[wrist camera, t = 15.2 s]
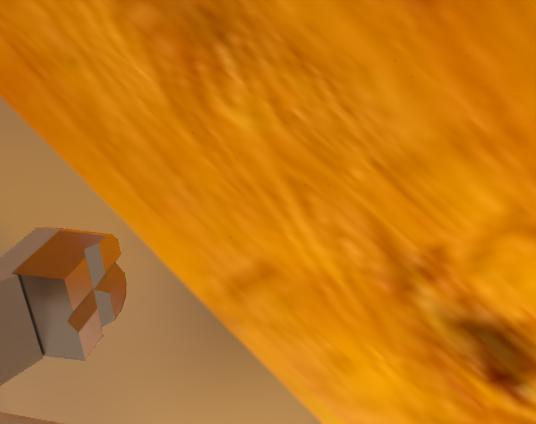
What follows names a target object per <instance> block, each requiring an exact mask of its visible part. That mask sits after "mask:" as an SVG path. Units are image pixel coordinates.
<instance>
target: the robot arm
mask: <svg viewBox="0 0 536 424" xmlns="http://www.w3.org/2000/svg"><path fill="white" fill-rule="evenodd" d="M120 255H121V252H120V247H119V243H118V239H117V238H115V237H114V236H113V235H112V234H104V233H96V232H87V231H80V230H72V229H63V228H53V227H38V228H35V229H34V230H33V231H32V232H31V233H29V234H28V235H27V236H26V237H25V238H23V239H22V240H21V241H20V242H19V243H17V244H16V245H15V246H14V247H13V248H11V249H10V250H9V251H8V252H7V253H5V254H4V255H3V256H2V257H0V385H2V384H4V383H5V382H7V381H8V380H10V379H11V378H13V377H14V376H16V375H18V374H19V373H21V372H22V371H24V370H25V369H27V368H28V367H30V366H32V365H33V364H35V363H36V362H38V361H39V360H41V359H43V356H49V357H57V358H66V359H73V360H82V361H86V360H87V358H88V357H89V356H90V354H91V353H92V351H93V350H94V348H95V347H96V346H97V344H98V343H99V342H100V340H101V339H102V337H103V331H102V326H104V325H106V324H108V323H110V322H112V321H114V320H115V319H116V317H117V316H118V314H119V313H120V312H121V309H122V307H123V304H124V301H125V298H126V278H125V273H124V272H123V271H122V270H121V268H120V267H119V266H118V265H117V264H116V261H117V260H118V258H119V257H120ZM0 424H64V423H58V422H53V421H47V420H41V419H36V418H30V417H25V416H19V415H14V414H8V413H2V412H0Z"/></svg>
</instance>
